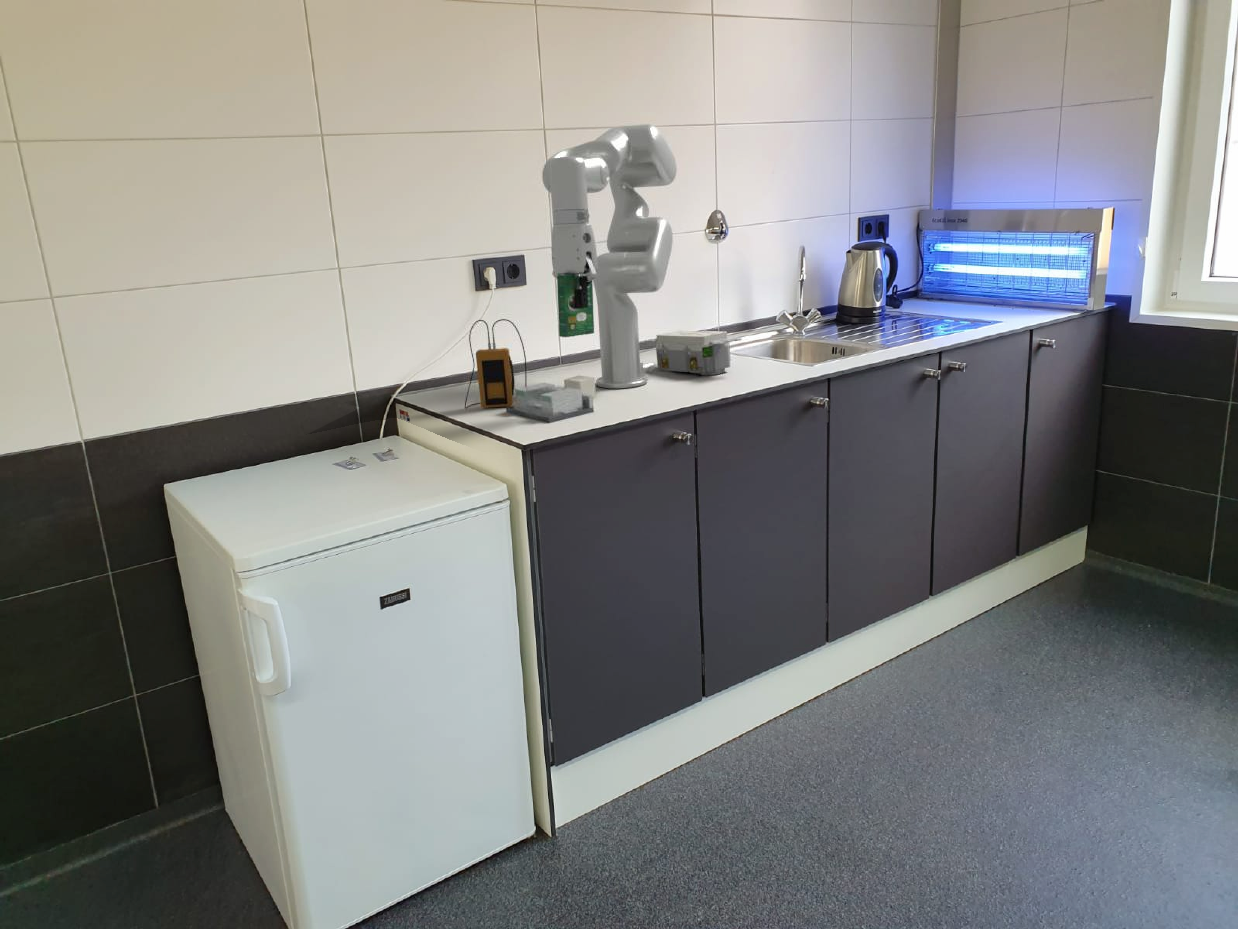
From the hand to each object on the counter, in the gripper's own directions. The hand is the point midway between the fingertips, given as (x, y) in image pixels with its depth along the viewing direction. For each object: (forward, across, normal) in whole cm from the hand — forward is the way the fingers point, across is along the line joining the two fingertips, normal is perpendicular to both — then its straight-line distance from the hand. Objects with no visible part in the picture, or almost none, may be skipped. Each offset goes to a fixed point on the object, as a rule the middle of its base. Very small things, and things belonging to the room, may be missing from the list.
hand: (576, 306), depth 197 cm
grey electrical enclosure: (+22, +8, -45) cm, 51 cm away
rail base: (+23, +4, +6) cm, 24 cm away
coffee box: (+6, 0, 0) cm, 6 cm away
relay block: (+22, +8, -6) cm, 25 cm away
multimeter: (+23, +21, +7) cm, 32 cm away
